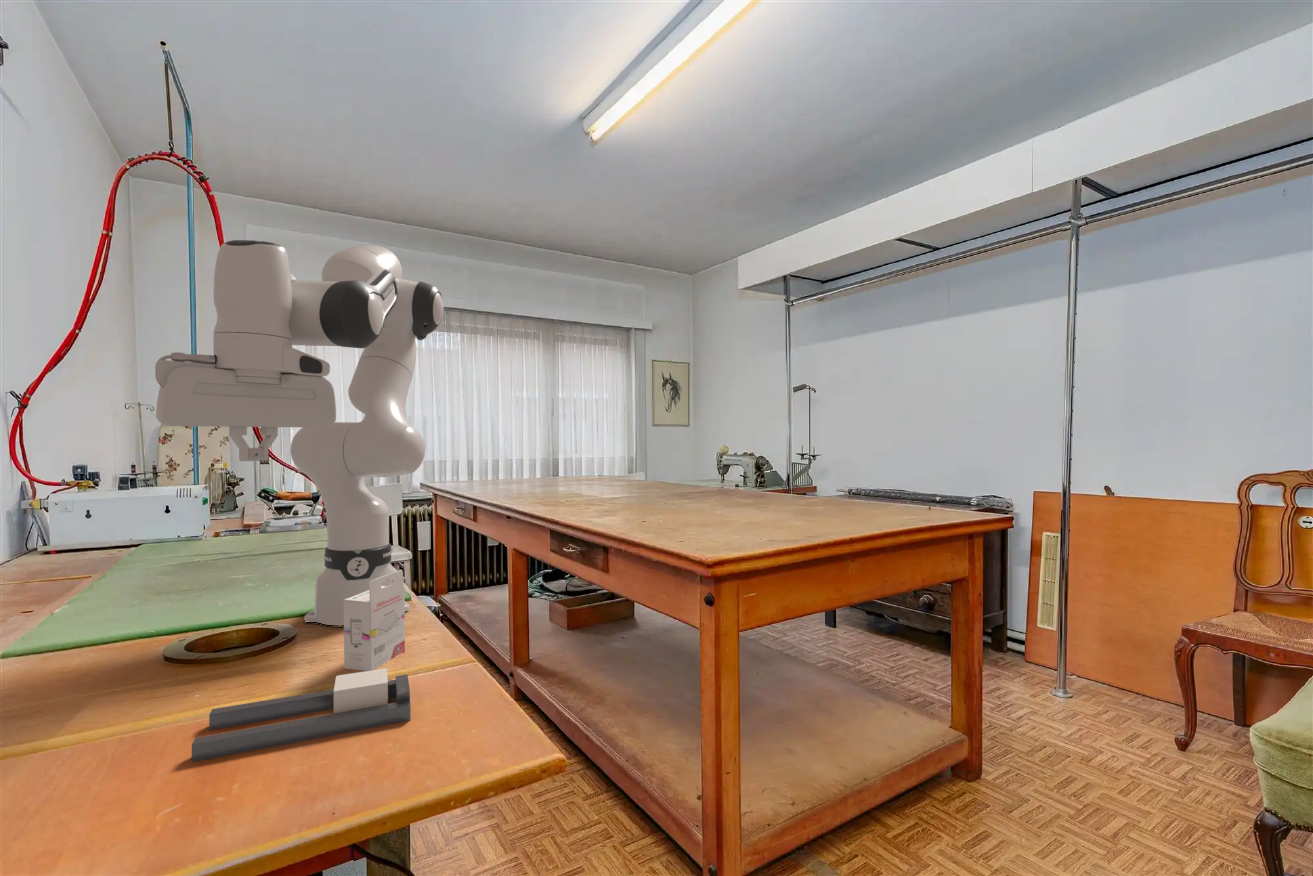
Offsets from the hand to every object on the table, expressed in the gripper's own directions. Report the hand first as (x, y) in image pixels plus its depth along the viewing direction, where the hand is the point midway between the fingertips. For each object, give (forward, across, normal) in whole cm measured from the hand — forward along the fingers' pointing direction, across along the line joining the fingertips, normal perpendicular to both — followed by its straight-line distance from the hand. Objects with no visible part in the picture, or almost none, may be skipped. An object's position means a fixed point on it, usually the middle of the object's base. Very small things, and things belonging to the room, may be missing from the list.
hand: (253, 461), depth 79 cm
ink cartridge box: (+33, +17, 0) cm, 37 cm away
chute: (+33, +2, -14) cm, 36 cm away
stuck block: (+32, +6, -17) cm, 37 cm away
